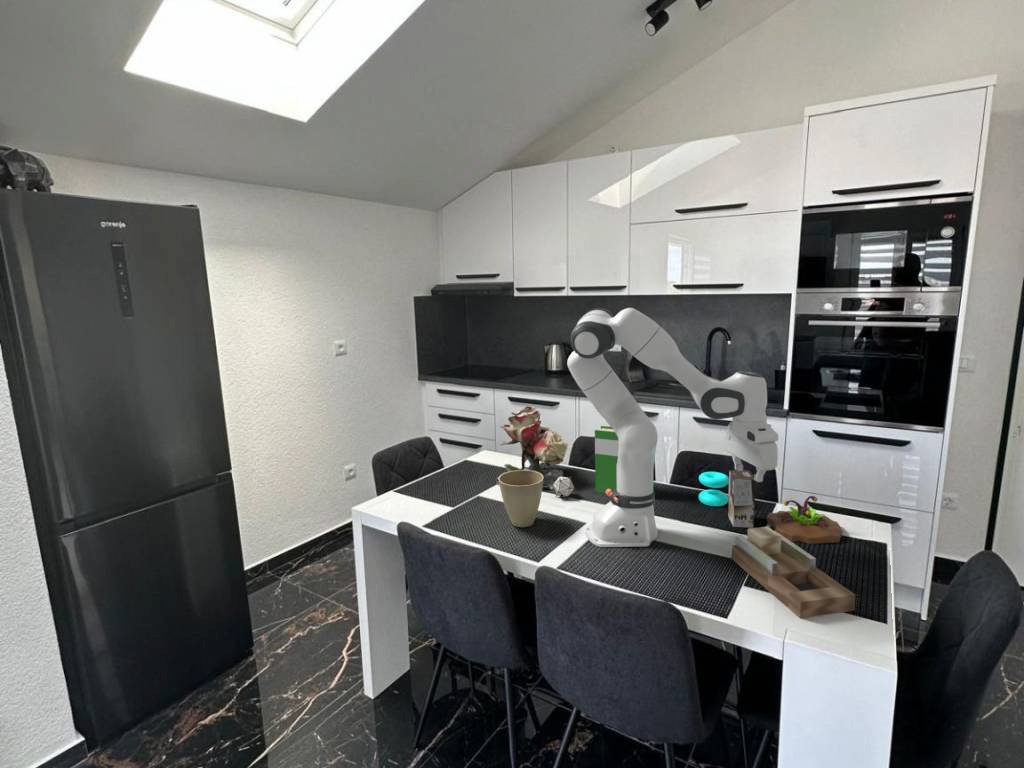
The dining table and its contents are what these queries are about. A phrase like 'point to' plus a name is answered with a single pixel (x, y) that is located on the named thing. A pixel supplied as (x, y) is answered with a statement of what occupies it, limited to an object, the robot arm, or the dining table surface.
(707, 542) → the dining table surface
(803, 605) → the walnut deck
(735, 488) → the coffee box
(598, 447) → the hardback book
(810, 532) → the plant
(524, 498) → the plant pot
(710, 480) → the donuts
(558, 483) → the game die
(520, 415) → the rose bouquet
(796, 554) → the lane walls
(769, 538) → the maple block
